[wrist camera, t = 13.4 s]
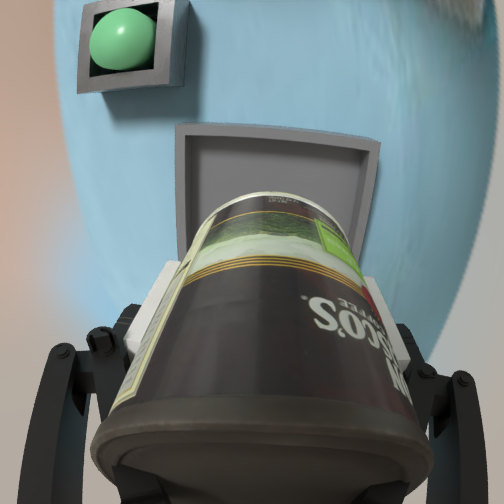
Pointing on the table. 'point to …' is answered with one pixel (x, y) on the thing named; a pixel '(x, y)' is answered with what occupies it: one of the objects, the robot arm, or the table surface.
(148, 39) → the button
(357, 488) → the coffee can
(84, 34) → the button housing
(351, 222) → the shallow gray tray
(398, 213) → the table surface
